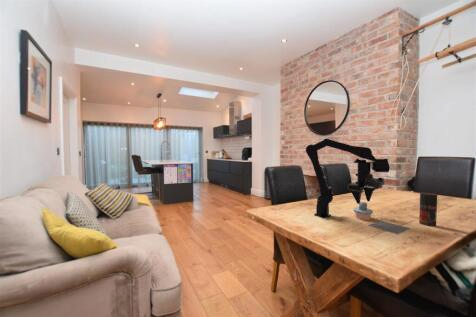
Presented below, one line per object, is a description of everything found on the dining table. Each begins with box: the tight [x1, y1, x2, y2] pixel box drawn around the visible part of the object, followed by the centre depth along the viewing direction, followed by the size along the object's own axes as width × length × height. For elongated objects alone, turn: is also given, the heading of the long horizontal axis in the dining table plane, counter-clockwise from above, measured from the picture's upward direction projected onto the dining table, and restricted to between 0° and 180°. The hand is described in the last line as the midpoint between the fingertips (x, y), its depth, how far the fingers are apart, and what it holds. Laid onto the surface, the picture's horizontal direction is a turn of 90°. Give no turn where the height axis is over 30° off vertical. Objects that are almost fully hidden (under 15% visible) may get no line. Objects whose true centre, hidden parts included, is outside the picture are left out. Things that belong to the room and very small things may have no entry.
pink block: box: [354, 212, 372, 221], centre depth 109 cm, size 6×6×4 cm
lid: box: [353, 201, 374, 215], centre depth 109 cm, size 8×8×4 cm
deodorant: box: [418, 192, 438, 227], centre depth 99 cm, size 6×6×15 cm
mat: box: [367, 220, 411, 235], centre depth 96 cm, size 12×12×1 cm
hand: (363, 202), depth 109 cm, fingers open, 9 cm apart
